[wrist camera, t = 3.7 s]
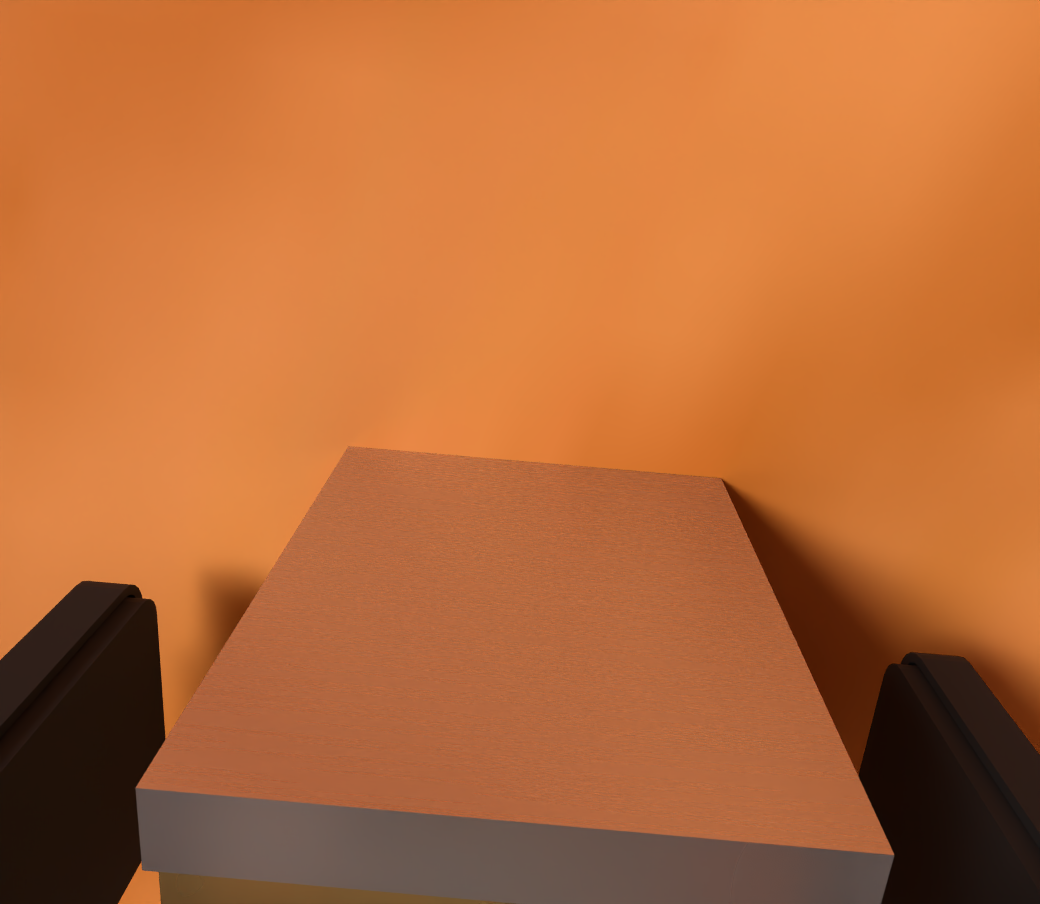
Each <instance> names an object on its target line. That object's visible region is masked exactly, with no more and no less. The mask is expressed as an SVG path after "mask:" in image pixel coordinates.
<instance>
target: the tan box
mask: <svg viewBox="0 0 1040 904" xmlns="http://www.w3.org/2000/svg"><path fill="white" fill-rule="evenodd" d="M135 789H136V800H137V812H138V824H139V836H140V848H141V860H142V870H145V871H156V872H159V882H160V895H161V904H881V901H882V898H883V894H884V891H885V887H886V883H887V880H888V876H889V873H890V869H891V866H892V862H893V859H894V853H893V851H892V849H891V846H890V844H889V842H888V840H887V838H886V836H885V833H884V831H883V829H882V827H881V825H880V823H879V820H878V818H877V816H876V814H875V812H874V809H873V807H872V805H871V803H870V801H869V799H868V796H867V794H866V792H865V790H864V788H863V786H862V783H861V781H860V779H859V777H858V775H857V773H856V770H855V768H854V766H853V764H852V762H851V759H850V757H849V755H848V753H847V751H846V749H845V746H844V744H843V742H842V740H841V738H840V736H839V733H838V731H837V729H836V727H835V725H834V723H833V720H832V718H831V716H830V714H829V712H828V709H827V707H826V705H825V703H824V701H823V699H822V696H821V694H820V692H819V690H818V688H817V686H816V683H815V681H814V679H813V677H812V675H811V673H810V670H809V668H808V666H807V664H806V662H805V659H804V657H803V655H802V653H801V651H800V649H799V646H798V644H797V642H796V640H795V638H794V636H793V633H792V631H791V629H790V627H789V625H788V623H787V620H786V618H785V616H784V614H783V612H782V609H781V607H780V605H779V603H778V601H777V599H776V596H775V594H774V592H773V590H772V588H771V586H770V583H769V581H768V579H767V577H766V575H765V573H764V570H763V568H762V566H761V564H760V562H759V559H758V557H757V555H756V553H755V551H754V549H753V546H752V544H751V542H750V540H749V538H748V536H747V533H746V531H745V529H744V527H743V525H742V523H741V520H740V518H739V516H738V514H737V512H736V509H735V507H734V505H733V503H732V501H731V499H730V496H729V494H728V492H727V490H726V488H725V486H724V483H723V481H722V479H721V478H710V477H698V476H686V475H675V474H663V473H651V472H640V471H628V470H617V469H605V468H593V467H582V466H570V465H558V464H547V463H535V462H523V461H512V460H500V459H489V458H477V457H465V456H454V455H442V454H430V453H419V452H407V451H396V450H384V449H372V448H361V447H349V446H348V448H347V450H346V451H345V453H344V454H343V456H342V458H341V459H340V461H339V462H338V464H337V466H336V467H335V469H334V470H333V472H332V474H331V475H330V477H329V479H328V480H327V482H326V483H325V485H324V487H323V488H322V490H321V491H320V493H319V495H318V496H317V498H316V499H315V501H314V503H313V504H312V506H311V507H310V509H309V511H308V512H307V514H306V515H305V517H304V519H303V520H302V522H301V523H300V525H299V527H298V528H297V530H296V531H295V533H294V535H293V536H292V538H291V539H290V541H289V543H288V544H287V546H286V547H285V549H284V551H283V552H282V554H281V555H280V557H279V559H278V560H277V562H276V563H275V565H274V567H273V568H272V570H271V571H270V573H269V575H268V576H267V578H266V579H265V581H264V583H263V584H262V586H261V588H260V589H259V591H258V592H257V594H256V596H255V597H254V599H253V600H252V602H251V604H250V605H249V607H248V608H247V610H246V612H245V613H244V615H243V616H242V618H241V620H240V621H239V623H238V624H237V626H236V628H235V629H234V631H233V632H232V634H231V636H230V637H229V639H228V640H227V642H226V644H225V645H224V647H223V648H222V650H221V652H220V653H219V655H218V656H217V658H216V660H215V661H214V663H213V664H212V666H211V668H210V669H209V671H208V672H207V674H206V676H205V677H204V679H203V680H202V682H201V684H200V685H199V687H198V688H197V690H196V692H195V693H194V695H193V697H192V698H191V700H190V701H189V703H188V705H187V706H186V708H185V709H184V711H183V713H182V714H181V716H180V717H179V719H178V721H177V722H176V724H175V725H174V727H173V729H172V730H171V732H170V733H169V735H168V737H167V738H166V740H165V741H164V743H163V745H162V746H161V748H160V749H159V751H158V753H157V754H156V756H155V757H154V759H153V761H152V762H151V764H150V765H149V767H148V769H147V770H146V772H145V773H144V775H143V777H142V778H141V780H140V781H139V783H138V785H137V786H136V788H135Z"/></svg>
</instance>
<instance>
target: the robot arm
mask: <svg viewBox="0 0 1040 904" xmlns="http://www.w3.org/2000/svg"><path fill="white" fill-rule="evenodd" d="M164 741H165V726H164V711H163V697H162V682H161V667H160V652H159V638H158V623H157V611H156V606H155V604H154V602H153V601H152V600H151V599H142V594H141V592H140V590H139V588H138V587H136V586H135V585H128V584H117V583H105V582H94V581H82V582H81V583H79V584H78V585H76V586H75V587H74V588H73V589H72V590H71V591H70V592H69V593H68V594H67V595H66V596H65V597H64V598H63V599H62V600H61V601H60V602H59V603H58V604H57V605H56V606H55V607H54V608H53V609H52V610H51V611H50V612H49V613H48V614H47V615H46V616H45V617H44V618H43V619H42V620H41V621H40V622H39V623H38V624H37V625H36V626H35V627H34V628H33V629H32V630H31V631H30V632H29V633H28V634H27V635H26V636H25V637H23V638H22V639H21V640H20V641H19V642H18V643H17V644H16V645H15V646H14V647H13V648H12V649H11V650H10V651H9V652H8V653H7V654H6V655H5V656H4V657H3V658H2V659H1V660H0V904H118V903H119V901H120V899H121V897H122V895H123V893H124V892H125V890H126V888H127V886H128V884H129V883H130V881H131V879H132V877H133V875H134V874H135V872H136V870H137V868H138V866H139V865H140V863H141V861H142V860H141V848H140V836H139V824H138V812H137V800H136V789H135V788H136V786H137V785H138V783H139V781H140V780H141V778H142V777H143V775H144V773H145V772H146V770H147V769H148V767H149V765H150V764H151V762H152V761H153V759H154V757H155V756H156V754H157V753H158V751H159V749H160V748H161V746H162V745H163V743H164ZM858 777H859V779H860V781H861V783H862V786H863V788H864V790H865V792H866V794H867V796H868V799H869V801H870V803H871V805H872V807H873V809H874V812H875V814H876V816H877V818H878V820H879V823H880V825H881V827H882V829H883V831H884V833H885V836H886V838H887V840H888V842H889V844H890V846H891V849H892V851H893V853H894V859H893V862H892V866H891V869H890V873H889V876H888V880H887V883H886V887H885V891H884V894H883V898H882V901H881V904H1040V755H1039V754H1038V752H1037V751H1036V750H1035V748H1034V747H1033V746H1032V744H1031V743H1030V742H1029V740H1028V739H1027V738H1026V736H1025V735H1024V734H1023V732H1022V731H1021V730H1020V729H1019V727H1018V726H1017V725H1016V723H1015V722H1014V721H1013V719H1012V718H1011V717H1010V715H1009V714H1008V713H1007V711H1006V710H1005V709H1004V708H1003V706H1002V705H1001V704H1000V702H999V701H998V700H997V698H996V697H995V696H994V694H993V693H992V692H991V690H990V689H989V688H988V686H987V685H986V684H985V683H984V681H983V680H982V679H981V677H980V676H979V675H978V673H977V672H976V671H975V669H974V668H973V667H972V665H971V664H970V663H969V662H968V661H967V660H966V659H965V658H964V657H959V656H949V655H937V654H926V653H914V652H910V653H909V654H907V655H906V656H905V657H904V658H903V660H902V662H901V664H891V665H889V666H888V668H887V669H886V671H885V674H884V677H883V681H882V685H881V689H880V693H879V697H878V701H877V705H876V709H875V713H874V717H873V721H872V725H871V728H870V732H869V736H868V740H867V744H866V748H865V752H864V756H863V760H862V764H861V768H860V772H859V776H858Z"/></svg>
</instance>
